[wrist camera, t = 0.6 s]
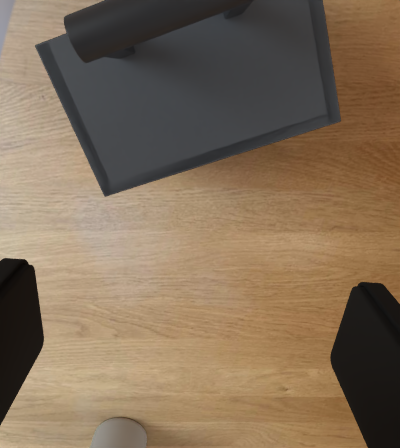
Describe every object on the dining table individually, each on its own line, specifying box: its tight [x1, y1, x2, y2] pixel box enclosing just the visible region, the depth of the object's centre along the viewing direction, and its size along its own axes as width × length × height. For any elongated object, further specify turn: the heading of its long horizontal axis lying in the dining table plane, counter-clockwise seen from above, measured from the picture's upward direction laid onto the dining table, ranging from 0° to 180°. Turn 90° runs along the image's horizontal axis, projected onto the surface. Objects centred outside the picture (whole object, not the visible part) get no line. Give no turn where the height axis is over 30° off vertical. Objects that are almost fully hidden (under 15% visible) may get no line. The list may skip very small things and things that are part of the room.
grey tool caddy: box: [35, 0, 341, 197], centre depth 21 cm, size 18×15×9 cm
